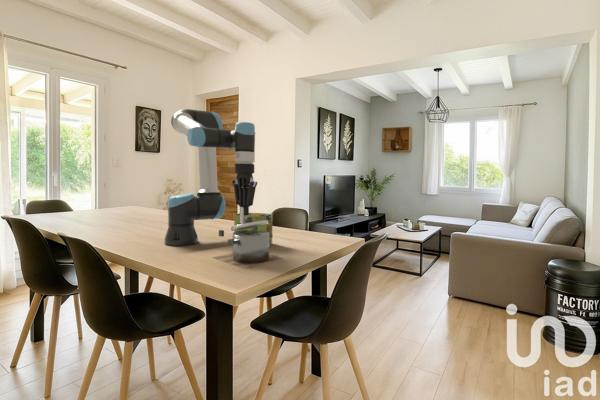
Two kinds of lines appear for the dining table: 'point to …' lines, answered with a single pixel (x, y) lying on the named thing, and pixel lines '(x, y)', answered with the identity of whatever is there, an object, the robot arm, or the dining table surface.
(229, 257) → the board
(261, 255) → the pot
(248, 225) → the lid
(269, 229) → the protein box
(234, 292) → the dining table surface
